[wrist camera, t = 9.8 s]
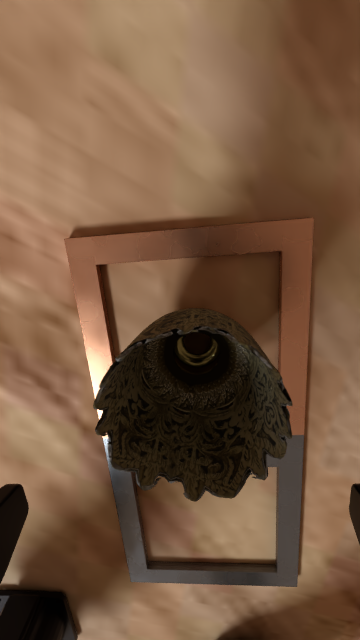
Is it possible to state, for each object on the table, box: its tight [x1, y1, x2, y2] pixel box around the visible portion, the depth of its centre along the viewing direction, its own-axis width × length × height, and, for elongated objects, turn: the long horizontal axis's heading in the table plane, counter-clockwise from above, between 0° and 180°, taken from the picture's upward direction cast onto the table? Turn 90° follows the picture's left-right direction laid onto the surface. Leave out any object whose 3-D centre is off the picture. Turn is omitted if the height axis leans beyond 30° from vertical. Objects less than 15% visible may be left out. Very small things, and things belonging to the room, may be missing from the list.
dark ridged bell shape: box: [93, 308, 293, 501], centre depth 16 cm, size 8×7×8 cm
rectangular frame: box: [64, 218, 314, 587], centre depth 21 cm, size 27×13×1 cm, turn 5°
